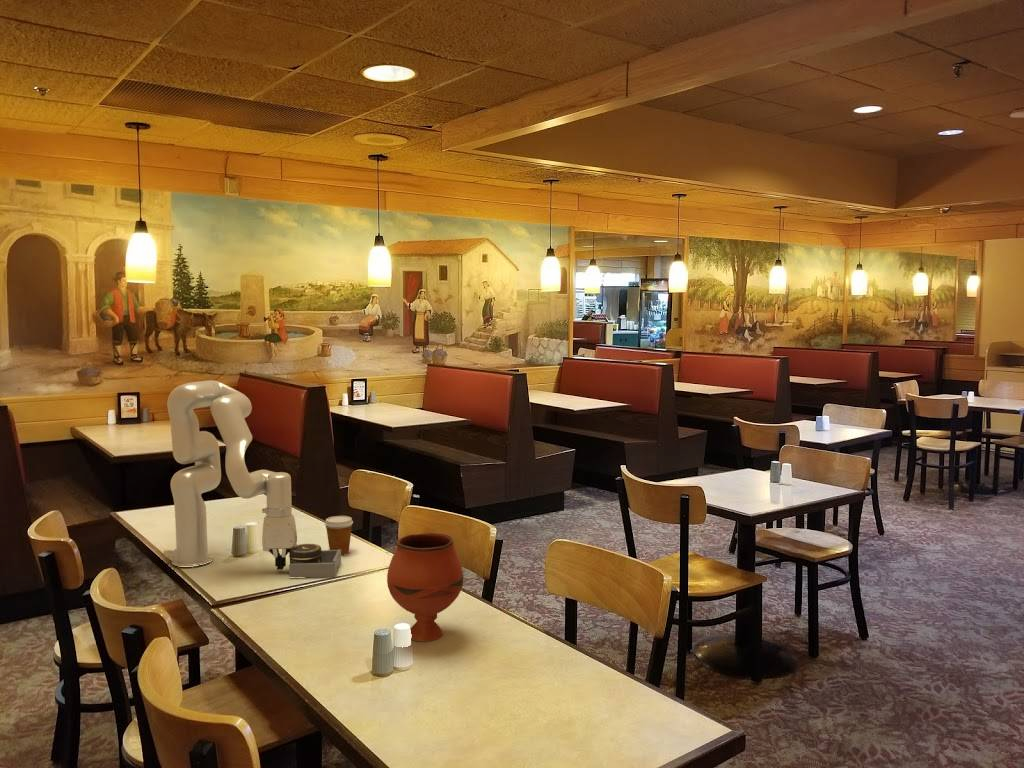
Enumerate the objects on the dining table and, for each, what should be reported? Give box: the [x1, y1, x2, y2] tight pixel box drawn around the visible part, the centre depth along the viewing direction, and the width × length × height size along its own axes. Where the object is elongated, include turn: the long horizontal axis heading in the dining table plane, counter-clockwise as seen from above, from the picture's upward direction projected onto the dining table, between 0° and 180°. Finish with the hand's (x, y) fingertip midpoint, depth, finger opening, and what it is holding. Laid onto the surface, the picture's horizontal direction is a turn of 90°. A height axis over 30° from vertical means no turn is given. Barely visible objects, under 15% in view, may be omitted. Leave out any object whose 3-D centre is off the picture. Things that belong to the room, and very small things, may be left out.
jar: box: [288, 543, 322, 564], centre depth 252 cm, size 10×10×8 cm
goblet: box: [386, 532, 464, 642], centre depth 202 cm, size 19×19×25 cm
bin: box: [288, 549, 342, 578], centre depth 253 cm, size 14×14×5 cm
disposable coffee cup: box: [324, 515, 354, 556], centre depth 271 cm, size 10×10×12 cm
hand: (280, 568), depth 252 cm, fingers closed
